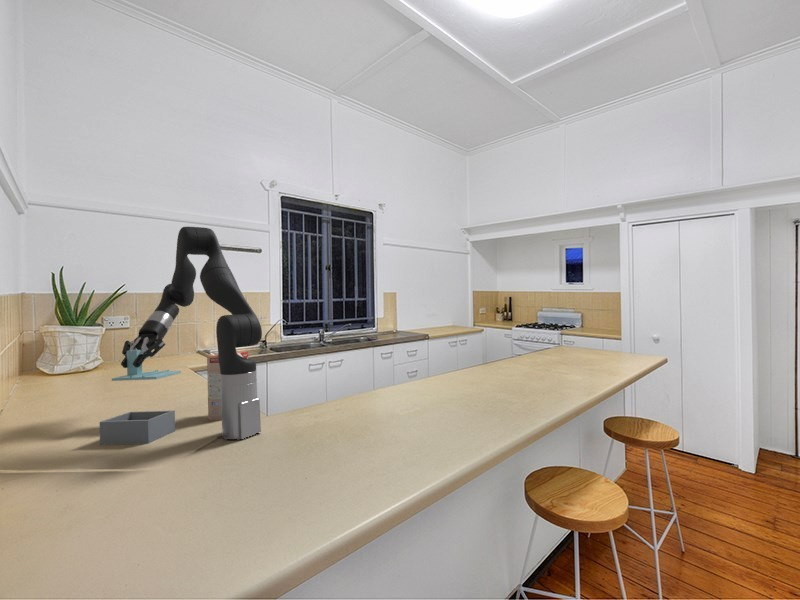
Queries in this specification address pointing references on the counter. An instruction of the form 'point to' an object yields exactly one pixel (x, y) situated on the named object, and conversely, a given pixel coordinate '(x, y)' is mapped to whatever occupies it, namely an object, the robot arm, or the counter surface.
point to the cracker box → (216, 386)
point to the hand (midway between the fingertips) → (129, 366)
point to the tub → (137, 427)
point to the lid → (137, 372)
